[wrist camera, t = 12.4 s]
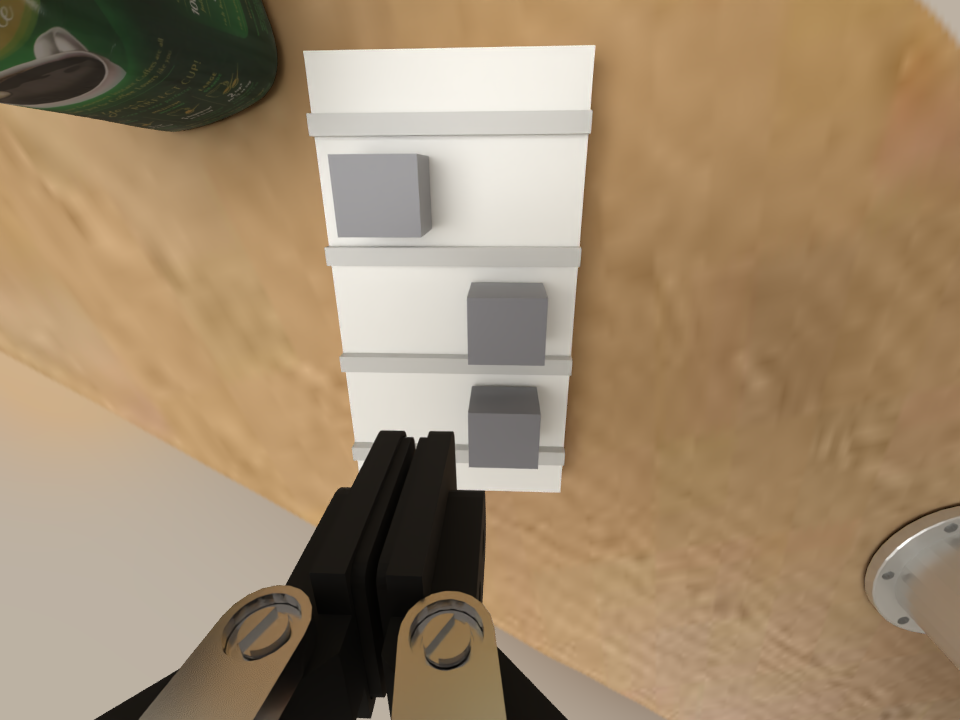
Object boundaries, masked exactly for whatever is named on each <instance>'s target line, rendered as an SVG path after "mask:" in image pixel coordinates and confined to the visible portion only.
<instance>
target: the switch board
mask: <svg viewBox="0 0 960 720" xmlns="http://www.w3.org/2000/svg"><path fill="white" fill-rule="evenodd" d="M303 53H304V60H305V68H306V75H307V83H308V90H309V98H310V106H311V113H306V116H307V123H308V130H309V136H312V137H315V143H316V151H317V158H318V166H319V173H320V181H321V188H322V196H323V204H324V211H325V219H326V226H327V234H328V241H329V246H327V247H325V255H326V262H327V266H332V271H333V279H334V286H335V294H336V301H337V309H338V317H339V324H340V332H341V339H342V347H343V354H342V355H341V356H340V364H341V372H346V377H347V384H348V392H349V399H350V407H351V415H352V422H353V430H354V437H355V443H354V445H353V447H352V452H353V459H354V460H358V467H359V471H360V469H361V467H362V465H363V463H364V461H365V459H366V457H367V455H368V453H369V451H370V449H371V447H372V445H373V443H374V441H375V439H376V437H377V435H378V433H379V432H380V431H381V430H395V431H405V432H406V435H407V437H414V440H415V448H416V447H417V444H418V441H419V438H420V437H427V436H428V433H429V431H453V432H454V436H455V456H456V477H457V490H488V491H524V492H559V493H560V487H561V474H562V466H564V459H565V450H564V436H565V424H566V411H567V398H568V386H569V376H571V372H572V357H571V348H572V335H573V322H574V310H575V297H576V284H577V271H578V267H580V261H581V249H582V248H581V247H580V233H581V221H582V208H583V195H584V183H585V170H586V157H587V145H588V134H590V133H591V125H592V112H593V110H590V107H591V94H592V81H593V69H594V56H595V45H582V46H529V47H477V48H424V49H372V50H319V51H303ZM328 154H421V155H426V156H429V174H430V197H431V219H432V229H431V230H430V231H429V232H428V233H426V234H425V235H424V236H423V237H421V238H374V237H338V234H337V226H336V218H335V210H334V202H333V194H332V186H331V178H330V170H329V162H328ZM471 282H503V283H543V285H544V288H545V291H546V294H547V296H548V312H547V330H546V348H545V366H520V365H468V336H467V296H468V292H469V289H470V286H471ZM472 386H505V387H537V392H538V399H539V405H540V412H541V422H540V441H539V459H538V469H514V468H475V467H469V448H468V409H469V402H470V396H471V389H472Z"/></svg>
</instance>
